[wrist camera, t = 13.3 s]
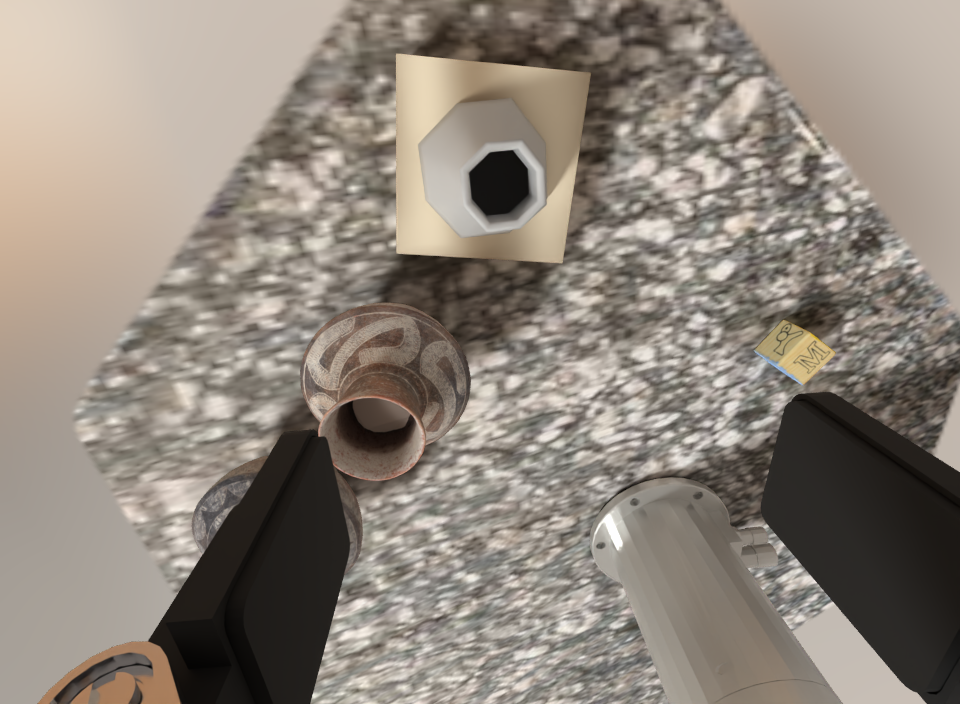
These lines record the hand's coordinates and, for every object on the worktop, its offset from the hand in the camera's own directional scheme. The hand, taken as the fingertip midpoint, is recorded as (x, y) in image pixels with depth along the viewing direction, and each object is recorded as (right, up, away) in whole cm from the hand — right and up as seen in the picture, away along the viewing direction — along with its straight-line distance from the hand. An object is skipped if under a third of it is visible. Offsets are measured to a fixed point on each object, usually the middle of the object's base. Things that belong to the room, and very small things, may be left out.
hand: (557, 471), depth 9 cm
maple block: (-1, +14, +19) cm, 24 cm away
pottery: (-12, -2, +26) cm, 29 cm away
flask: (-1, +13, +16) cm, 20 cm away
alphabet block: (+21, +3, +26) cm, 33 cm away
